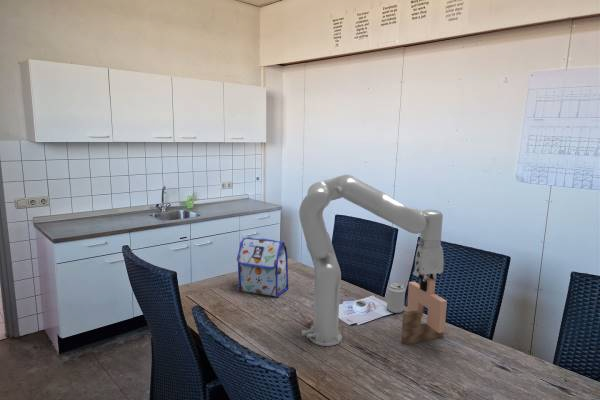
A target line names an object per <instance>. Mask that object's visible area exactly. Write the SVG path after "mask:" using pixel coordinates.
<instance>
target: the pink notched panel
mask: <svg viewBox="0 0 600 400" xmlns="http://www.w3.org/2000/svg"><path fill="white" fill-rule="evenodd" d="M426 281H427V291H426V292H425V291H423V290H421V289H420V283H419V282H416V281H409V282H408V287H407V288H408V292H407V306H406V310H407V312H409V311H416V310H419V311H420V312H421V318H423V317H424V307H425V308H426V309H427V317H426V318H427V319H426V323H427V325H428V326H430V327H431V328H433V329H434V330H435V331H437V332H438V333H442V332H444V333H445V331H446V330H445V329H446V317H447V308H448V307H447V305H448V304H447V303H448V300H446V299H444V298H443V297H441V296H440V295H437V294H436V293H435V292H436V280H433V279H431V278H429V276H427V277H426Z"/></svg>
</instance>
